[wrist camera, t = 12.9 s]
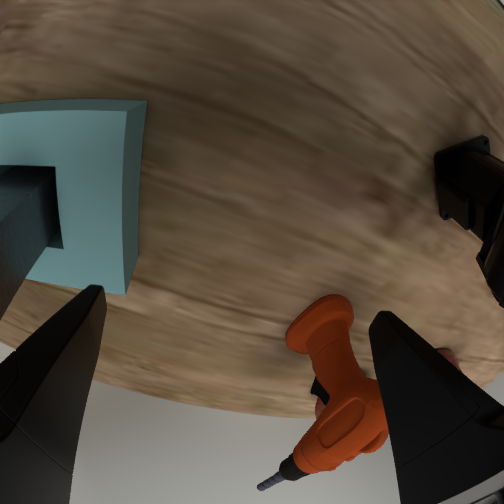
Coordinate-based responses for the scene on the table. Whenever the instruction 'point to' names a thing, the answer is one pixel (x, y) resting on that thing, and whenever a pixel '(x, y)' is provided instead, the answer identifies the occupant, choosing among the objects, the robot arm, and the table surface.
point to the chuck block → (83, 183)
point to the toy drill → (333, 394)
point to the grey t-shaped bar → (25, 223)
